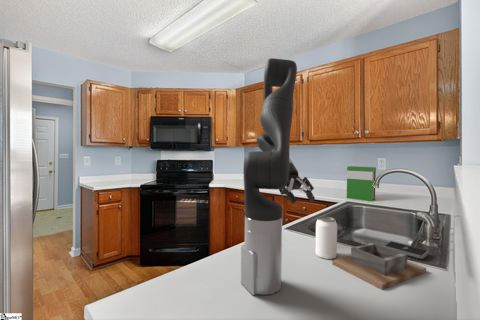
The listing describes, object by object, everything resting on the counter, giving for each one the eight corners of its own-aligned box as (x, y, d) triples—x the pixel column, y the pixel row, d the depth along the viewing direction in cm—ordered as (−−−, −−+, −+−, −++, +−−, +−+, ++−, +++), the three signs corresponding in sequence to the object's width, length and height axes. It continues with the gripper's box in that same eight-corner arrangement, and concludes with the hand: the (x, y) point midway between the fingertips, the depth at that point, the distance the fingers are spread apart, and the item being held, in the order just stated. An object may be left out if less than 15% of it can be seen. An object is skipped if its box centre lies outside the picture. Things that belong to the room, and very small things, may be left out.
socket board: (381, 289, 59) (382, 269, 59) (332, 264, 72) (333, 247, 72) (426, 272, 68) (426, 254, 68) (375, 252, 82) (375, 237, 81)
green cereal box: (375, 200, 178) (375, 167, 177) (372, 201, 172) (372, 167, 172) (349, 196, 190) (350, 166, 189) (346, 198, 184) (347, 166, 184)
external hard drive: (421, 262, 75) (422, 256, 75) (382, 251, 84) (383, 245, 84) (428, 256, 80) (428, 250, 79) (390, 246, 88) (390, 241, 88)
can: (319, 250, 83) (320, 215, 83) (339, 255, 79) (340, 218, 79) (312, 256, 78) (312, 219, 78) (332, 261, 74) (333, 222, 74)
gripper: (274, 161, 92) (293, 197, 82) (303, 161, 98) (324, 194, 88) (266, 174, 97) (283, 209, 87) (294, 173, 103) (313, 205, 93)
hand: (304, 201), depth 88 cm, fingers open, 8 cm apart
